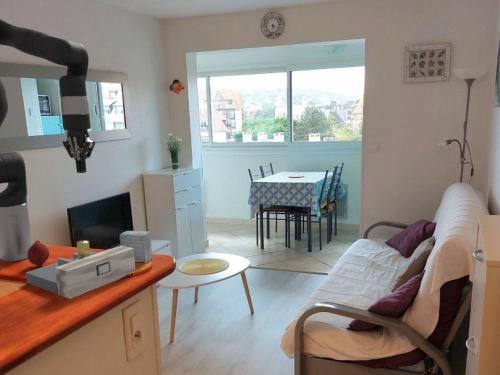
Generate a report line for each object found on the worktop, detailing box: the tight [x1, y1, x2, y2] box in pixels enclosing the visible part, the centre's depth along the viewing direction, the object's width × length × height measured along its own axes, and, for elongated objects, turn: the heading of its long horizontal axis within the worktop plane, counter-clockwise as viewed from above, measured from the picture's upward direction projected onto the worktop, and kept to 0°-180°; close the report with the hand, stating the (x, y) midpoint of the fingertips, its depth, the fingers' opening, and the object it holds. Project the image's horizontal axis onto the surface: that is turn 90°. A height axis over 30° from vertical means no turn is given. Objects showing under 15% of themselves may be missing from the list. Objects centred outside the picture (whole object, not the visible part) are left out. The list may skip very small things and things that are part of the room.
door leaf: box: [25, 250, 99, 295], centre depth 115 cm, size 14×20×5 cm
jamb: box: [55, 245, 136, 300], centre depth 110 cm, size 5×20×7 cm, turn 145°
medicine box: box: [119, 230, 153, 264], centre depth 126 cm, size 8×4×9 cm, turn 78°
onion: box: [27, 239, 50, 267], centre depth 124 cm, size 6×6×8 cm
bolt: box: [73, 239, 109, 274], centre depth 111 cm, size 11×3×7 cm, turn 55°
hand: (81, 172), depth 124 cm, fingers closed
